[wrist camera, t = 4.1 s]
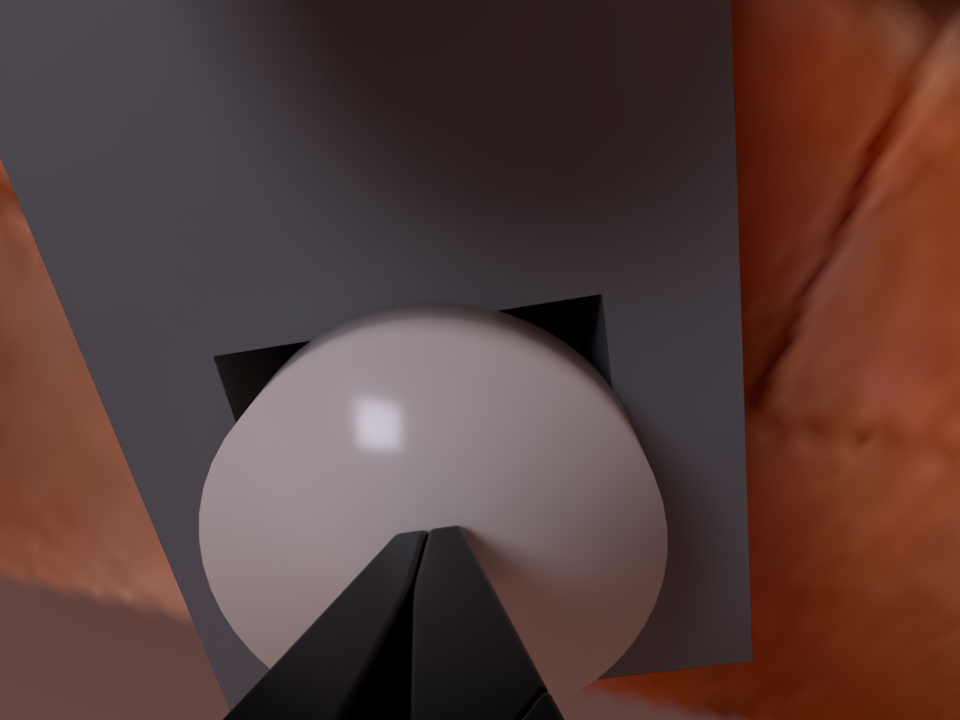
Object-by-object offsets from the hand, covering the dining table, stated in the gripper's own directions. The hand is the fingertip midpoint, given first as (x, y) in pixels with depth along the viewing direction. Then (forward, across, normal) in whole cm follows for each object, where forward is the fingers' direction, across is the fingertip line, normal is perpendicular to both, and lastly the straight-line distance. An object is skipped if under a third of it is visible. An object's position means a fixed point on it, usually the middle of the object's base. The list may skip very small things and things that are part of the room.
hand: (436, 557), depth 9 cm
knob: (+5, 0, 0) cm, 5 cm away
